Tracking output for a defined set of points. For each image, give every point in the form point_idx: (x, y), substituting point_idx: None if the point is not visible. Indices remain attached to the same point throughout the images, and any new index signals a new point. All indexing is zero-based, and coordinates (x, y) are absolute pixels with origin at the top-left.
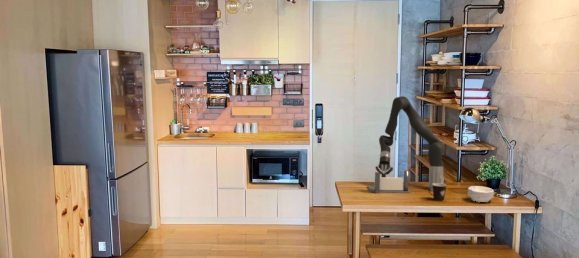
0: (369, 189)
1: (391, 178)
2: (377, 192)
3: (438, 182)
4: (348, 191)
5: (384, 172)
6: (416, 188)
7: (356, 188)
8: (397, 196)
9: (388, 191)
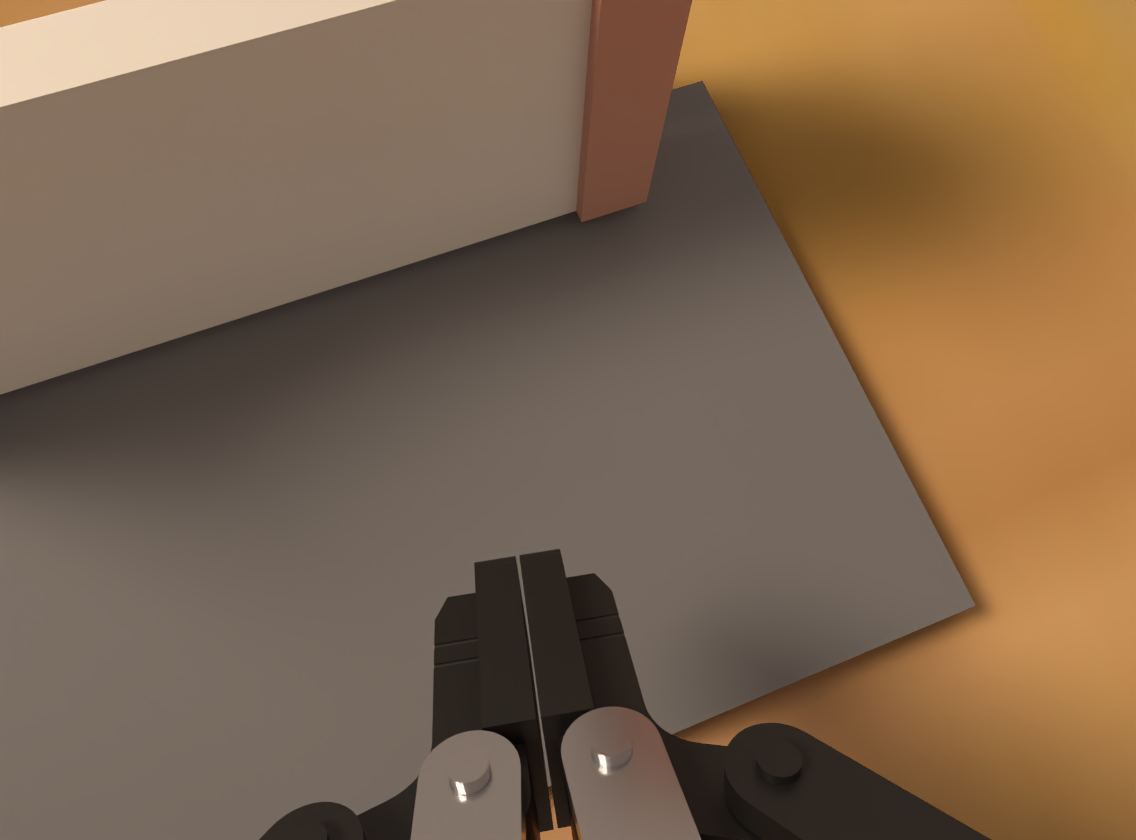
0: (776, 229)
1: (86, 20)
2: None
3: None
4: (1121, 45)
5: (500, 770)
6: None
7: (1107, 323)
8: None
9: None
